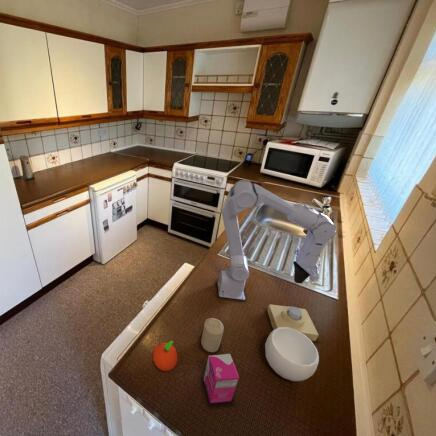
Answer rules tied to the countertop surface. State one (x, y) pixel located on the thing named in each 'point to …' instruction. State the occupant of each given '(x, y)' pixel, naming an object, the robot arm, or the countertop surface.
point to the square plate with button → (292, 321)
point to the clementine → (165, 356)
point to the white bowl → (291, 354)
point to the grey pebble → (294, 313)
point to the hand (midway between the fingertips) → (297, 281)
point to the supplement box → (220, 378)
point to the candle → (212, 334)
